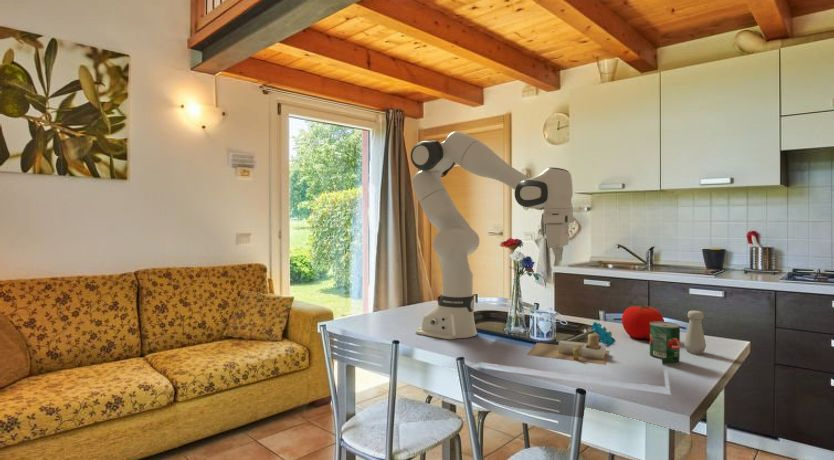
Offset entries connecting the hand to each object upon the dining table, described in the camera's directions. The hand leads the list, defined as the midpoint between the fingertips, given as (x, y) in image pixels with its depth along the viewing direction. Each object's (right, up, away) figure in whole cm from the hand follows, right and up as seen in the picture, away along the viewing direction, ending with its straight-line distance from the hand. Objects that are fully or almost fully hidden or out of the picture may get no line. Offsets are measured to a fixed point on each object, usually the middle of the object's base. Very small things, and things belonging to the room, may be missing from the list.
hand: (558, 260), depth 152 cm
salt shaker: (+41, -29, -5) cm, 51 cm away
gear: (+16, -29, +3) cm, 33 cm away
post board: (0, -29, -10) cm, 30 cm away
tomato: (+33, -28, +14) cm, 46 cm away
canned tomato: (+27, -29, -13) cm, 42 cm away
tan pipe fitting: (+4, -27, -11) cm, 30 cm away
